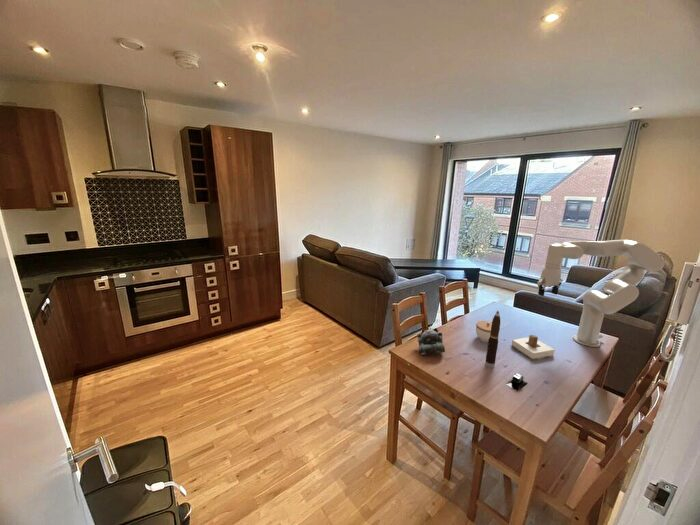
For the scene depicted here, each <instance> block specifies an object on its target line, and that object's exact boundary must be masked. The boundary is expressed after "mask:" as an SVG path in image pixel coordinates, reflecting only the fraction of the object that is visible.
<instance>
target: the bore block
mask: <svg viewBox="0 0 700 525" xmlns="http://www.w3.org/2000/svg"><path fill="white" fill-rule="evenodd" d="M528 342H529V336H528V337H523V338H522V337H521V338H516V339H512V342H511V347H512V348H514V349H515V350H517V351H518V352H519V353H521V354H523V355H524V356H525V357H527V358H529V359H530V360H531V361H535V360H539V359H540V360H541V359H545V358H551V357H554V355H555V349H554V348H553V347H551V346H549V345H547V344H546V343H544V342H542V341H540V340H539V339H538V341H537V347H536V348H532V347H531V346H529V345H528Z"/></svg>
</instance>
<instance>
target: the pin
mask: <svg viewBox="0 0 700 525" xmlns="http://www.w3.org/2000/svg"><path fill="white" fill-rule="evenodd" d="M528 337H529V342H528V345H529V346H531V347H532V348H536V347H537V341H538V340H539V337H538V336H537V335H534V334H530V335H529V336H528Z"/></svg>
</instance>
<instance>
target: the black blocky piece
mask: <svg viewBox="0 0 700 525" xmlns="http://www.w3.org/2000/svg"><path fill="white" fill-rule="evenodd" d="M505 385H506V386H508V387H510V388H511V389H513V390H515V391H517V392H519V391H520V390H522V389H523V388H524V387H526V386H527V385H528V382H526V381H525V380H524V376H523V375H521V374H519V373H516V374H515V375H512V379H511V380H509V381H508V382H506V383H505Z"/></svg>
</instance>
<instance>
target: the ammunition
mask: <svg viewBox="0 0 700 525" xmlns="http://www.w3.org/2000/svg"><path fill="white" fill-rule="evenodd" d="M500 315H501V314H500V311H498V310H497V311H496V312H495V314H494V315H493V318H492V321H491V322H492V326H491V333H490V338H489V341H488V342H487V348H486V349H487V350H486V356H485V361H484V362H485V363H484V366H486V367H488V368H490V369H491V368H492V369H494V368H495V364H496V359H497V358H496V357H497V351H498V345H499V334H500V330H499V329H501V316H500Z"/></svg>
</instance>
